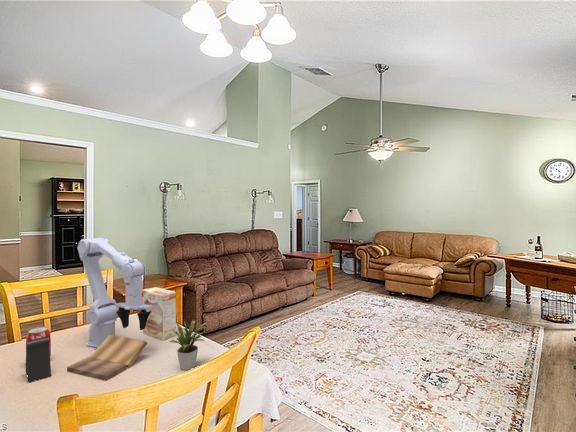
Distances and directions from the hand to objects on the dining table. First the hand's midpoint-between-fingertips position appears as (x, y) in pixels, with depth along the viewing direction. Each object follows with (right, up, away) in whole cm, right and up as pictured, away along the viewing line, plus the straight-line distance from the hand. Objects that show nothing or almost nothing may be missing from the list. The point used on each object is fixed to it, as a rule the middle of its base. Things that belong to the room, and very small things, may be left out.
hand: (134, 328), depth 126 cm
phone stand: (-24, -10, -17) cm, 31 cm away
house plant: (+25, -10, -12) cm, 30 cm away
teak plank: (-3, -7, -5) cm, 9 cm away
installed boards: (-6, -10, -14) cm, 18 cm away
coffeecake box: (+3, -9, +18) cm, 20 cm away
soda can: (-31, -10, -8) cm, 33 cm away
